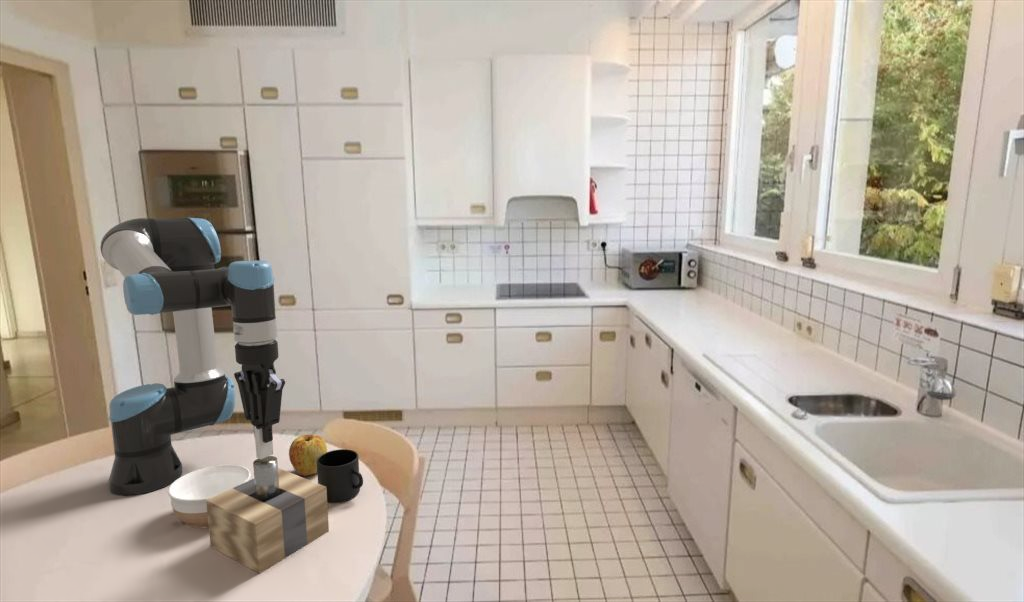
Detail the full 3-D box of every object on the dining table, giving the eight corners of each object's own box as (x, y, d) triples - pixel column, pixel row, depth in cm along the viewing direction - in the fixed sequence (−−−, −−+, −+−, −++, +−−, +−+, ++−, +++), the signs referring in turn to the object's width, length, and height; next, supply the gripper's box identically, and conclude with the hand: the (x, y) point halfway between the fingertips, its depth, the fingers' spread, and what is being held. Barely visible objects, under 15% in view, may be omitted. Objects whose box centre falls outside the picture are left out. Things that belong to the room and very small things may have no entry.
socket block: (210, 546, 108) (206, 500, 107) (280, 509, 122) (277, 467, 120) (259, 573, 100) (255, 524, 99) (328, 530, 114) (326, 486, 112)
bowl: (269, 504, 124) (266, 472, 122) (204, 543, 109) (200, 507, 108) (221, 489, 130) (218, 458, 129) (154, 523, 116) (150, 489, 115)
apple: (314, 461, 145) (312, 425, 144) (335, 470, 140) (333, 434, 138) (283, 474, 138) (281, 437, 136) (304, 484, 133) (301, 446, 131)
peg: (251, 504, 109) (248, 462, 107) (271, 494, 113) (268, 454, 111) (265, 510, 107) (262, 468, 105) (284, 500, 110) (281, 459, 109)
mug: (349, 510, 122) (347, 472, 120) (309, 497, 127) (307, 461, 125) (376, 490, 130) (375, 455, 129) (338, 480, 135) (336, 446, 134)
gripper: (217, 340, 104) (227, 455, 108) (259, 349, 98) (268, 471, 101) (253, 333, 111) (262, 442, 114) (294, 341, 104) (302, 456, 108)
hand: (265, 455), depth 108 cm, fingers closed
